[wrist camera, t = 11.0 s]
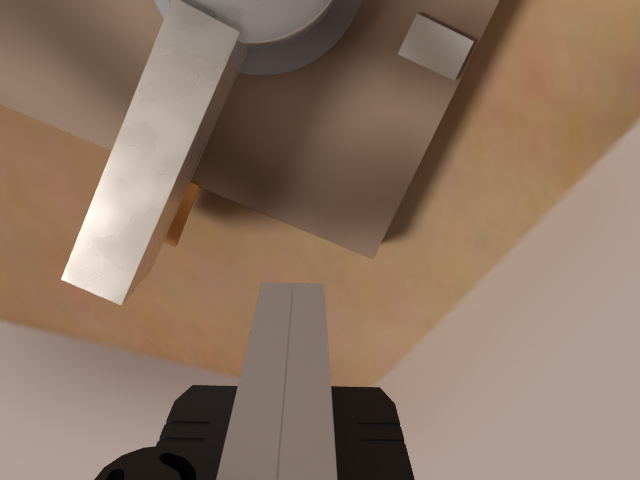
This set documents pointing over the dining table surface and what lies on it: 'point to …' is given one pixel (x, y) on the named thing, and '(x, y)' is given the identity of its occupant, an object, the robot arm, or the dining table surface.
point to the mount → (265, 101)
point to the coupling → (173, 131)
